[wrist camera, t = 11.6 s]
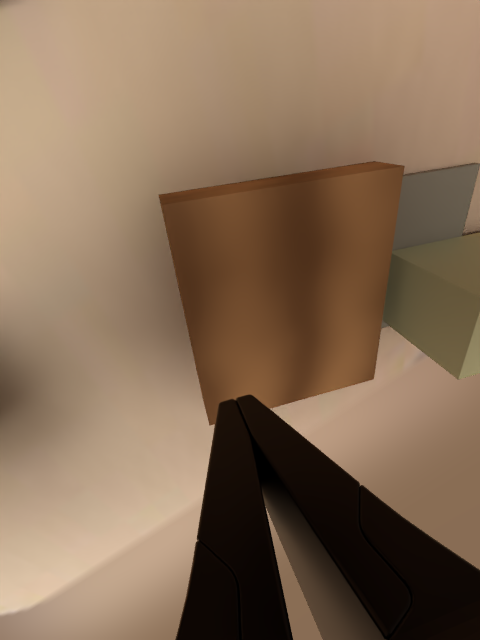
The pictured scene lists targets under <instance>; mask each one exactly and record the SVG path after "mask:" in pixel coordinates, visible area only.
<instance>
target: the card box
mask: <svg viewBox="0 0 480 640" xmlns="http://www.w3.org/2000/svg"><path fill="white" fill-rule="evenodd" d="M382 320H383V321H384V322H385V323H387V324H388V325H389V326H390V327H392V328H393V329H394V330H396V331H397V332H398V333H399V334H401V335H402V336H403V337H404V338H406V339H407V340H408V341H410V342H411V343H412V344H413V345H415V346H416V347H417V348H418V349H420V350H421V351H422V352H424V353H425V354H426V355H427V356H429V357H430V358H431V359H432V360H434V361H435V362H436V363H438V364H439V365H440V366H441V367H443V368H444V369H445V370H446V371H448V372H449V373H450V374H452V375H453V376H454V377H456V378H457V379H462V378H466V377H469V376H472V375H476V374H479V373H480V232H479V233H474V234H469V235H465V236H460V237H455V238H451V239H446V240H441V241H437V242H432V243H427V244H422V245H418V246H413V247H408V248H404V249H399V250H394V251H392V255H391V262H390V269H389V276H388V283H387V290H386V297H385V304H384V311H383V318H382Z"/></svg>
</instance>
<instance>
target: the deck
mask: <svg viewBox="0 0 480 640" xmlns="http://www.w3.org/2000/svg"><path fill="white" fill-rule="evenodd" d="M403 172H404V166H401V165H394V164H388V163H381V162H375V161H374V162H367V163H361V164H355V165H348V166H342V167H335V168H329V169H322V170H316V171H309V172H303V173H297V174H290V175H284V176H277V177H271V178H264V179H258V180H252V181H245V182H239V183H232V184H226V185H219V186H213V187H207V188H200V189H194V190H187V191H181V192H174V193H168V194H161V195H159V198H160V203H161V208H162V212H163V217H164V222H165V226H166V231H167V235H168V240H169V245H170V249H171V254H172V258H173V263H174V268H175V272H176V277H177V281H178V286H179V291H180V295H181V300H182V304H183V309H184V314H185V318H186V323H187V327H188V332H189V337H190V341H191V346H192V350H193V355H194V360H195V364H196V369H197V373H198V378H199V383H200V387H201V392H202V397H203V401H204V405H205V409H206V413H207V417H208V421H209V425H213V424H215V422H216V416H217V410H218V404H219V403H220V402H222V401H226V400H230V399H234V400H236V398H237V397H241V396H244V395H248V394H251V395H253V396H254V397H255V398H257V399H258V400H259V401H260V402H262V403H263V404H264V405H265V406H266V407H268V408H269V409H270V408H273V407H277V406H280V405H284V404H287V403H291V402H294V401H298V400H301V399H305V398H309V397H312V396H316V395H319V394H323V393H326V392H330V391H333V390H337V389H340V388H344V387H348V386H351V385H355V384H358V383H362V382H365V381H369V380H372V379H374V373H375V367H376V360H377V353H378V346H379V339H380V332H381V325H382V318H383V311H384V304H385V297H386V290H387V283H388V276H389V269H390V262H391V255H392V248H393V241H394V234H395V228H396V221H397V214H398V207H399V200H400V193H401V186H402V179H403Z"/></svg>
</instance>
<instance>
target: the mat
mask: <svg viewBox="0 0 480 640" xmlns="http://www.w3.org/2000/svg"><path fill="white" fill-rule="evenodd" d="M479 166H480V164H478V163H472V164H466V165H460V166H454V167H448V168H442V169H436V170H430V171H424V172H418V173H412V174H406V175H403V179H402V186H401V193H400V200H399V207H398V214H397V221H396V228H395V234H394V241H393V248H392V251H394V250H399V249H404V248H408V247H413V246H418V245H422V244H427V243H432V242H437V241H441V240H446V239H451V238H455V237H460V236H462V234H463V230H464V226H465V222H466V218H467V214H468V210H469V206H470V202H471V198H472V194H473V190H474V186H475V182H476V178H477V174H478V170H479ZM388 326H389V325H388V324H387V323H385V322H384V321H383V320H382V325H381V328H384V327H388Z"/></svg>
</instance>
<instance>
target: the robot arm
mask: <svg viewBox="0 0 480 640" xmlns="http://www.w3.org/2000/svg"><path fill="white" fill-rule="evenodd" d="M265 506H266V507H265ZM266 508H267V511H268V513H269V515H270V518H271V520H272V522H273V525H274V527H275V529H276V532H277V534H278V536H279V538H280V541H281V543H282V545H283V548H284V550H285V552H286V555H287V557H288V559H289V562H290V564H291V566H292V569H293V571H294V573H295V576H296V578H297V580H298V583H299V585H300V587H301V589H302V592H303V594H304V597H305V599H306V601H307V603H308V606H309V608H310V610H311V613H312V615H313V617H314V620H315V622H316V624H317V627H318V629H319V631H320V634H321V636H322V638H323V640H480V570H479V569H477V568H476V567H475V566H473V565H472V564H470V563H469V562H467V561H466V560H464V559H463V558H461V557H460V556H458V555H457V554H455V553H454V552H452V551H451V550H450V549H448V548H447V547H445V546H444V545H442V544H441V543H439V542H438V541H436V540H435V539H433V538H432V537H430V536H429V535H428V534H426V533H425V532H423V531H422V530H420V529H419V528H417V527H416V526H415V525H413V524H412V523H410V522H409V521H408V520H406V519H405V518H403V517H402V516H401V515H399V514H398V513H397V512H396V511H394V510H393V509H392V508H390V507H389V506H388V505H386V504H385V503H384V502H383V501H381V500H380V499H379V498H378V497H376V496H375V495H374V494H373V493H371V492H370V491H369V490H368V489H367V488H365V487H364V486H363V485H361V486H360V483H359V482H358V481H357V480H355V479H354V478H353V477H352V476H351V475H349V474H348V473H347V472H346V471H344V470H343V469H342V468H341V467H340V466H338V465H337V464H336V463H335V462H333V461H332V460H331V459H330V458H329V457H327V456H326V455H325V454H324V453H322V452H321V451H320V450H319V449H318V448H316V447H315V446H314V445H313V444H311V443H310V442H309V441H308V440H307V439H305V438H304V437H303V436H302V435H301V434H299V433H298V432H297V431H296V430H295V429H293V428H292V427H291V426H290V425H288V424H287V423H286V422H285V421H284V420H282V419H281V418H280V417H279V416H277V415H276V414H275V413H274V412H273V411H271V410H270V409H269V408H268V407H266V406H265V405H264V404H263V403H262V402H260V401H259V400H258V399H257V398H255V397H254V396H253V395H251V394H248V395H244V396H241V397H237V398H236V400H234V399H230V400H226V401H222V402H220V403H219V404H218V410H217V416H216V422H215V428H214V434H213V441H212V447H211V453H210V459H209V465H208V472H207V478H206V484H205V490H204V497H203V503H202V509H201V516H200V522H199V528H198V535H197V542H196V545H195V551H194V557H193V563H192V569H191V574H190V580H189V584H188V589H187V595H186V599H185V603H184V607H183V612H182V616H181V620H180V624H179V628H178V632H177V636H176V640H293V637H292V632H291V627H290V623H289V618H288V613H287V608H286V603H285V599H284V594H283V589H282V584H281V579H280V574H279V570H278V565H277V560H276V555H275V550H274V546H273V541H272V537H271V531H270V526H269V522H268V517H267V512H266Z"/></svg>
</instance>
